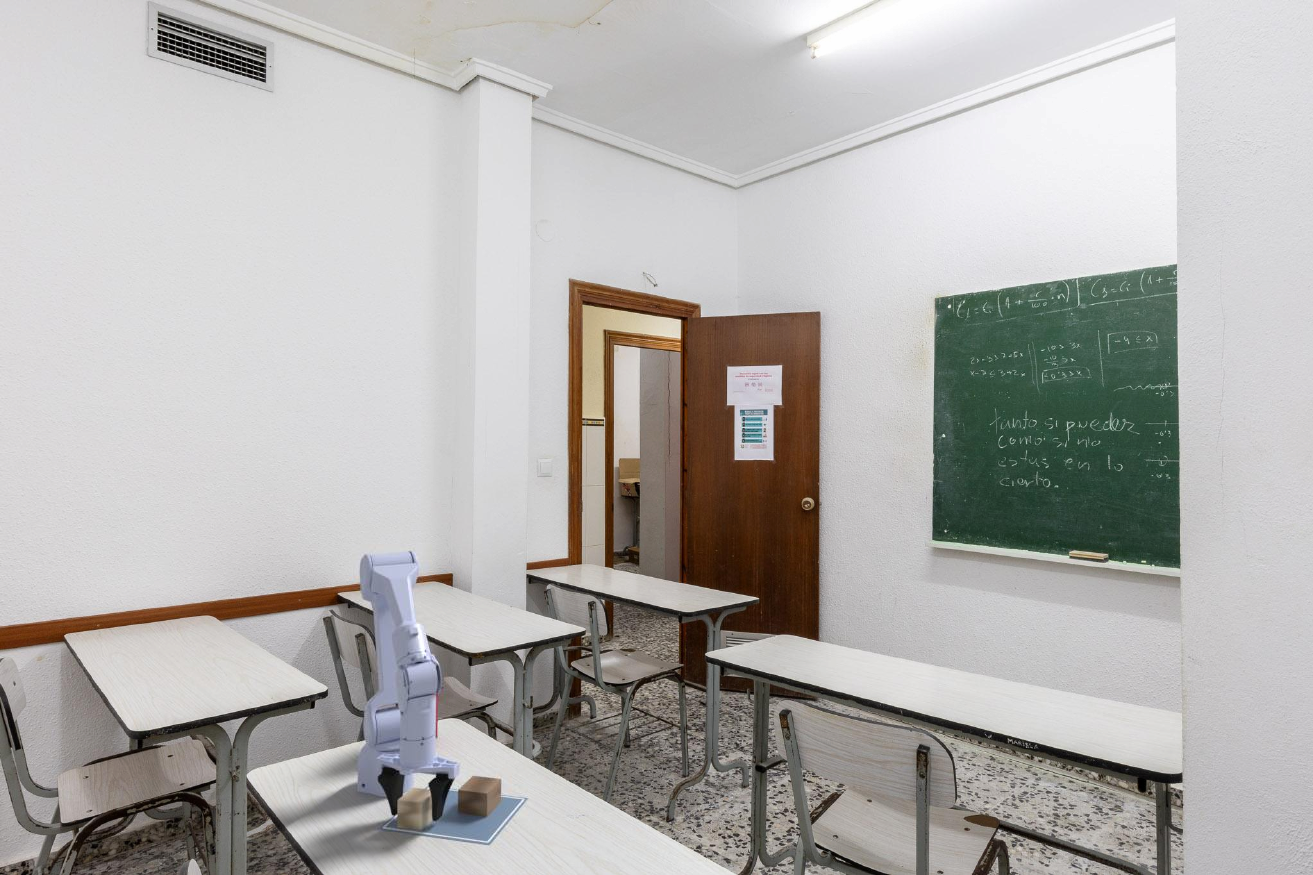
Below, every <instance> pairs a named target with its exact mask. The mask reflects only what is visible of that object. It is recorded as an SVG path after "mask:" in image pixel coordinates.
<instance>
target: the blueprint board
mask: <svg viewBox="0 0 1313 875" xmlns="http://www.w3.org/2000/svg"><path fill="white" fill-rule="evenodd" d="M424 789H429V786H428V785H427V786H426V787H425V788H424ZM429 790H430V789H429ZM528 800H529V798H528V797H522V796H512V795H506V794H501V802H500V803H499V804H498V806H497V807H496V808H495V809H494V810H493V811H492V812H491V813H490V814H489V816H488V817H483V816H475V815H468V814H460V813H458V789H457V788H456V789H455V788H450V790H449V792H448V795H447V798H446V802H445V805H444V809H443V815H442V816H441V817H440V818H439V819H438V820H437V821H433V820H432V821H431V822H430V823H429V824H428V825H427V826H426V827H425V828H424V829H423V830H422V831H420V830H413V829H406V828H399V827H397V815H395V816H393V815H392V816H391V817H390V818H389V819H388V820H386V822H384V823H383V824H382V825H381V826H380V827H379V828H377V830H379V831H380V830H381V831H386V832H394V833H401V834H408V835H414V836H422V837H427V838H428V837H430V838H436V839H444V840H449V841H450V840H452V841H458V842H464V843H472V844H479V845H487V846H490V845H491V844H492V843H493V842H494V840H495V839H496V838H497V837H498V836H499V835H500V833H501V832H502V831H503V830H504V829H505V827H506V826H507V825H508V824H509V822H510V821H512V819H513V818H514V816H515V815H516V814H517V813H518V812H519V810H521V808H522V807H523V806H524V805H525V803H526V802H527V801H528Z"/></svg>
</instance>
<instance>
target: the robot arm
mask: <svg viewBox="0 0 1313 875" xmlns="http://www.w3.org/2000/svg"><path fill="white" fill-rule="evenodd" d="M419 572H420V562H419V557H418V556H417V553H415V551H413V550H409V551H400V552H389V553H388V552H387V553H376V554H372V553H371V554H369V553H367V554H365V553H364V554H363V556H362V557H361V558H360V563H359V584H360V594H361V598H362V600H364V601H367V602H369V603H370V604H371V608H372V612H373V614H372V615H373V626H374V637H375V640H374V641H375V651H376V652H375V654H376V666H377V679H378V680H377V681H378V691H377V692H376V693H375V694H374V695H373V696H372V697H371V698H370V699H369V700H368V701H367V702H366V703H365V706H364V709H363V716H364V717H363V729H362V730H363V737H364V741H365V743H364V745H363V746H362V747H361V749H360V752H359V754H358V759H357V792H358V793H364V794H371V795H374V796H377V797H381V798H386V799H387V802H388V805H389V809H390V813H391V816H392V817H393V816H395V815H397V812H398V799H399V798H401V797H402V796H403V795H404V794H405V793H407V792H408V791H409V790H410V789H411V788H414V783H415V781H414V780H415V774H424V775H425V774H427V775H434V777H433V778H432V779H431V780H430V781H429V782H428V784H427V786H429V789H430V792H431V798H432V820H433V821H437V820H438V819H439V818H440V817H441V816H442V815H443V809H444V805H445V802H446V798H447V795H448V792H449V790H450V789H452V788H451V787H452V786H453V783H454V782H455V779H456V778H457V777H458V776H459V775H460V766H461V765H460V762H458V761H452V760H450V759H447V758H444V757H441V756H439V755H436V740H437V738H436V695H435V693H436V694H438V695H439V694H440V692H441V689H442V685H443V684H442V679H443V678H442V670H441V666H440V663H439V661H438V659H436V657H435V655H434V653H431V649H430V646H429V642H428V637H427V632H426V629H425V627H424V625H422V624H421V623H419V622H417V619H416V610H415V603H414V597H413V595H414V594H413V589H414V588H415V587H416V583H417V579H418V578H419ZM396 703H398V706H396V705H395V704H396ZM390 705H395V706H391V707H386V706H390ZM384 706H385V707H386V708H382V709H381V707H384ZM379 708H380V709H379Z"/></svg>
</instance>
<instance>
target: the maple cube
mask: <svg viewBox="0 0 1313 875" xmlns="http://www.w3.org/2000/svg"><path fill="white" fill-rule="evenodd" d="M431 821H432V798H431V792H430V790H429V789H425V788H421V787H413V788H411V789H410V790H409V791H408V792H406V793H404V794H403V796H402V797H401V798H399V799H398V812H397V827H399V828H406V829H413V830H420V831H422V830H423V829H424V828H425V827H426V826H427V825H428V824H429V823H430V822H431Z"/></svg>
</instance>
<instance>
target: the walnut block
mask: <svg viewBox="0 0 1313 875" xmlns="http://www.w3.org/2000/svg"><path fill="white" fill-rule="evenodd" d="M457 790H458V813H460V814H468V815H475V816H483V817H488V816H489V814H490V813H491V812H492V811H493V810H494V809H495V808H496V807H497V806H498V804H499V803H500V802H501V795H502V778H497V777H496V778H495V777H488V776H478V775H472V776H471V777H470V778H469V779H468V780H467V781H466V782H464V783H463V785H461V786H460V788H458V789H457Z"/></svg>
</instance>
